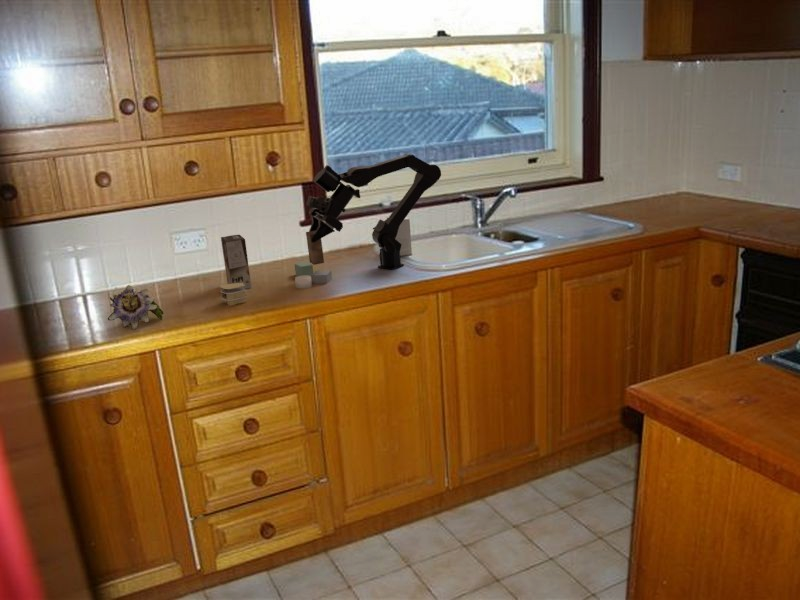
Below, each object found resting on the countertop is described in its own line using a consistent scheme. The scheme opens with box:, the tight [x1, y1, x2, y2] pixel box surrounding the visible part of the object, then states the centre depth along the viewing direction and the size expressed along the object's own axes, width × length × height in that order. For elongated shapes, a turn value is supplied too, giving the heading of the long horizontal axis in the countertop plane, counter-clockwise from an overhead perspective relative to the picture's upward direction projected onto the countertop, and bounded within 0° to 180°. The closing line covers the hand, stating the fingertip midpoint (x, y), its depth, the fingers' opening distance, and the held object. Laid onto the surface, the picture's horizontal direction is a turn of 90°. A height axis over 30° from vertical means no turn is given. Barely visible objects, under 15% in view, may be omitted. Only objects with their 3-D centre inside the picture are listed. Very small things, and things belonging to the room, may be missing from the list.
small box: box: [386, 216, 413, 257], centre depth 266 cm, size 8×6×13 cm
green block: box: [294, 261, 314, 277], centre depth 247 cm, size 6×4×4 cm, turn 29°
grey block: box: [311, 270, 333, 284], centre depth 238 cm, size 5×5×3 cm
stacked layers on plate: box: [219, 283, 248, 306], centre depth 222 cm, size 10×9×6 cm
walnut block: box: [305, 230, 325, 266], centre depth 239 cm, size 4×4×10 cm
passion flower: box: [107, 284, 165, 330], centre depth 208 cm, size 13×12×14 cm
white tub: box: [294, 275, 313, 290], centre depth 234 cm, size 5×5×3 cm
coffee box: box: [220, 234, 252, 290], centre depth 237 cm, size 9×6×16 cm
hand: (310, 240), depth 238 cm, fingers closed on walnut block, 4 cm apart
